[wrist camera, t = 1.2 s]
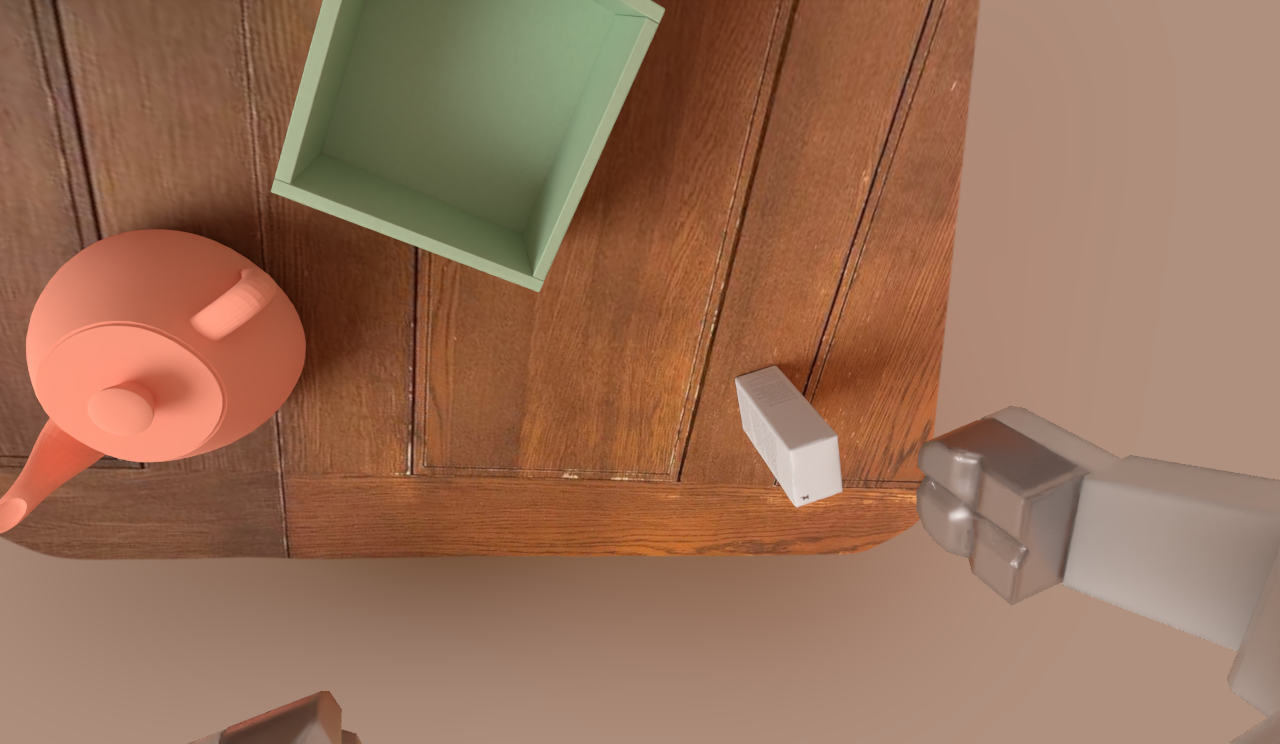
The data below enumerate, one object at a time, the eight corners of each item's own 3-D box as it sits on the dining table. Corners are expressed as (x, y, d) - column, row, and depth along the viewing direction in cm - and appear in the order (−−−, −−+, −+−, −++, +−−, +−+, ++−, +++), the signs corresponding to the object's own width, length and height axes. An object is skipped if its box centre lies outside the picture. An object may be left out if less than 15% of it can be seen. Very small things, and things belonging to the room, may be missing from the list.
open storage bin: (390, -133, 38) (369, -170, 30) (628, 7, 44) (666, 9, 36) (307, 156, 44) (270, 192, 36) (527, 244, 50) (539, 292, 42)
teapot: (178, 479, 53) (107, 596, 43) (-27, 355, 46) (-175, 461, 35) (381, 308, 50) (359, 389, 40) (198, 145, 43) (111, 192, 32)
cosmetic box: (783, 415, 64) (844, 493, 54) (741, 428, 64) (794, 510, 53) (777, 361, 61) (840, 434, 51) (733, 375, 60) (787, 451, 50)
